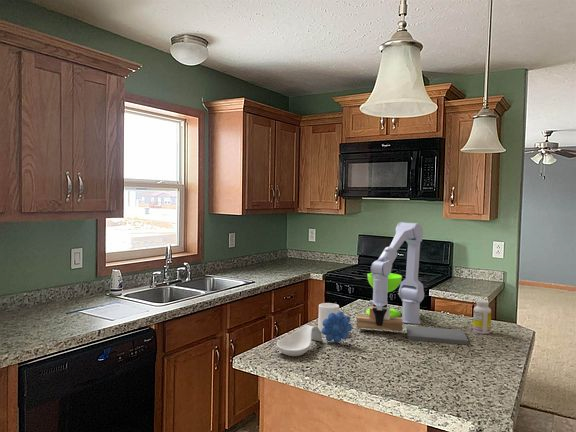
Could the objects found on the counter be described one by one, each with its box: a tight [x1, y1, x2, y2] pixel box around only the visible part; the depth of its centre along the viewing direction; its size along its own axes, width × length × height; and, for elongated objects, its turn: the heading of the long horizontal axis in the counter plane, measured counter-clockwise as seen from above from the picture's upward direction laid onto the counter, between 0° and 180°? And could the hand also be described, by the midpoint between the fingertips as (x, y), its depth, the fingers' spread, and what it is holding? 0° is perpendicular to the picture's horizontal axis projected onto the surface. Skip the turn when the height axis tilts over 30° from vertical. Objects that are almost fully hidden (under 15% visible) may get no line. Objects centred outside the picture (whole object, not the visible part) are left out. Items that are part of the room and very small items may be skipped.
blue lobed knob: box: [321, 311, 353, 344], centre depth 170 cm, size 12×7×12 cm, turn 70°
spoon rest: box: [276, 324, 323, 357], centre depth 163 cm, size 24×12×7 cm, turn 151°
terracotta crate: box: [368, 305, 377, 319], centre depth 185 cm, size 4×4×4 cm
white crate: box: [382, 306, 391, 320], centre depth 184 cm, size 4×4×4 cm
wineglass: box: [365, 272, 403, 318], centre depth 214 cm, size 16×16×18 cm
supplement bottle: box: [472, 299, 492, 335], centre depth 187 cm, size 7×7×13 cm
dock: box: [406, 325, 469, 346], centre depth 180 cm, size 14×22×2 cm, turn 77°
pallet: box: [356, 314, 404, 332], centre depth 185 cm, size 5×18×4 cm, turn 77°
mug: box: [317, 302, 340, 333], centre depth 187 cm, size 12×8×10 cm
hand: (379, 323), depth 185 cm, fingers closed on pallet, 5 cm apart
